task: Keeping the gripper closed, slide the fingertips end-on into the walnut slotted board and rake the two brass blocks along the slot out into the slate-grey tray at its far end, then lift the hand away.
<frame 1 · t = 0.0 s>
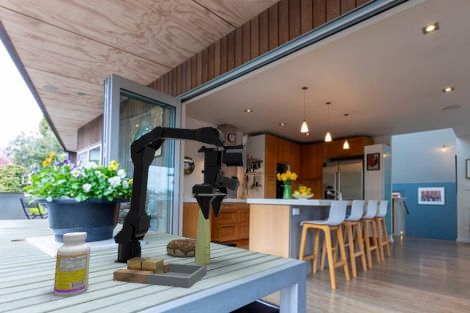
hand: (211, 218, 85), 15 cm above the table, tool pointing down, fingers open, 9 cm apart
supplement bottle: (70, 293, 62), on the table
brass block 1: (137, 274, 75), resting on slot board
tray: (178, 279, 72), on the table
brass block front: (152, 276, 74), resting on slot board
donut: (186, 254, 103), on the table
tube: (202, 264, 88), on the table
slot board: (143, 276, 75), on the table
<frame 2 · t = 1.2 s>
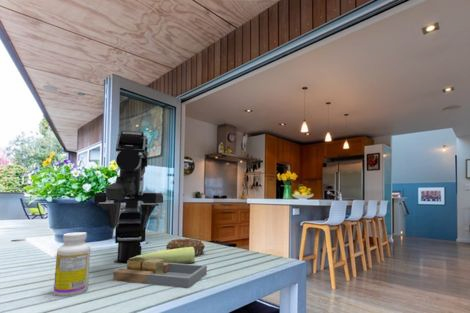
hand: (127, 228, 79), 12 cm above the table, tool pointing down, fingers open, 9 cm apart
tube: (194, 254, 90), point 3 cm above the table, touching arm, slot board
everything else where it was.
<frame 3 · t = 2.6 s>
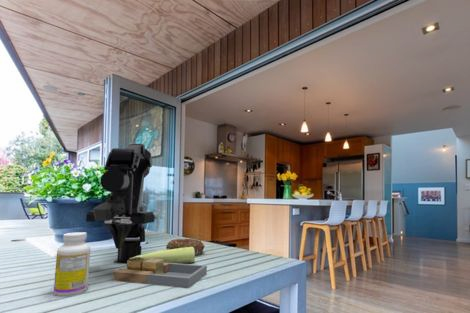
hand: (118, 248, 78), 7 cm above the table, tool pointing down, fingers closed
nothing on the table moved.
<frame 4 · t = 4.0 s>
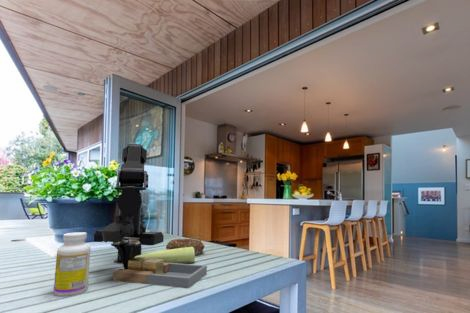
hand: (126, 269, 76), 1 cm above the table, tool pointing down, fingers closed
brass block 1: (138, 274, 75), resting on slot board, touching gripper
everything else where it was.
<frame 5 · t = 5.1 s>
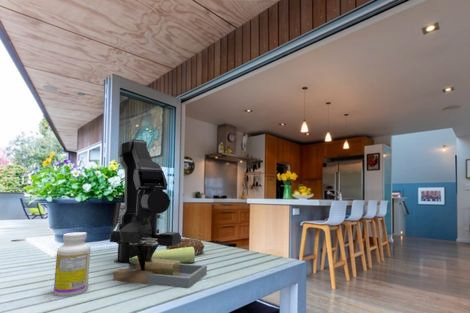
hand: (143, 270, 75), 2 cm above the table, tool pointing down, fingers closed
brass block 1: (155, 276, 74), resting in slot board, touching gripper
brass block front: (169, 277, 73), resting on tray
everything else where it was.
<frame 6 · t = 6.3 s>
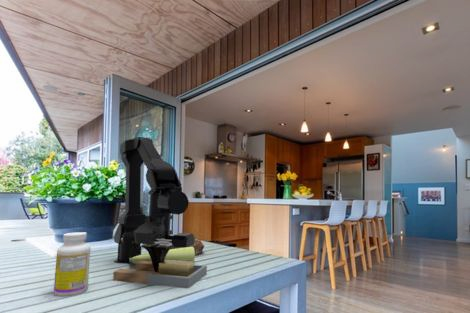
hand: (156, 271, 74), 1 cm above the table, tool pointing down, fingers closed
brass block 1: (169, 277, 73), resting on tray, touching brass block front, gripper
brass block front: (183, 279, 72), resting on tray, touching brass block 1
everything else where it was.
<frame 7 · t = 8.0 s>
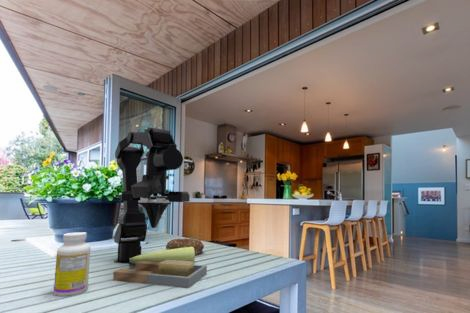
hand: (153, 227, 77), 13 cm above the table, tool pointing down, fingers closed
brass block 1: (169, 277, 73), resting on tray
brass block front: (183, 279, 72), resting on tray
everything else where it was.
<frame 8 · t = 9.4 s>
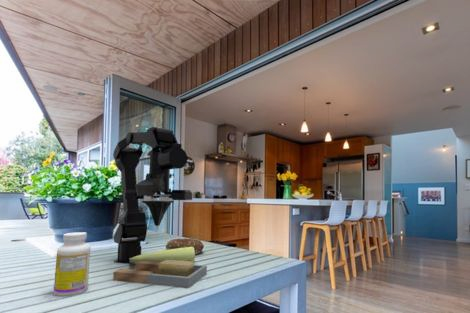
hand: (157, 225, 79), 13 cm above the table, tool pointing down, fingers closed
at the end: brass block front inside the target area (0.9 cm from its centre), resting on tray; brass block 1 inside the target area (3.1 cm from its centre), resting on tray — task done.
